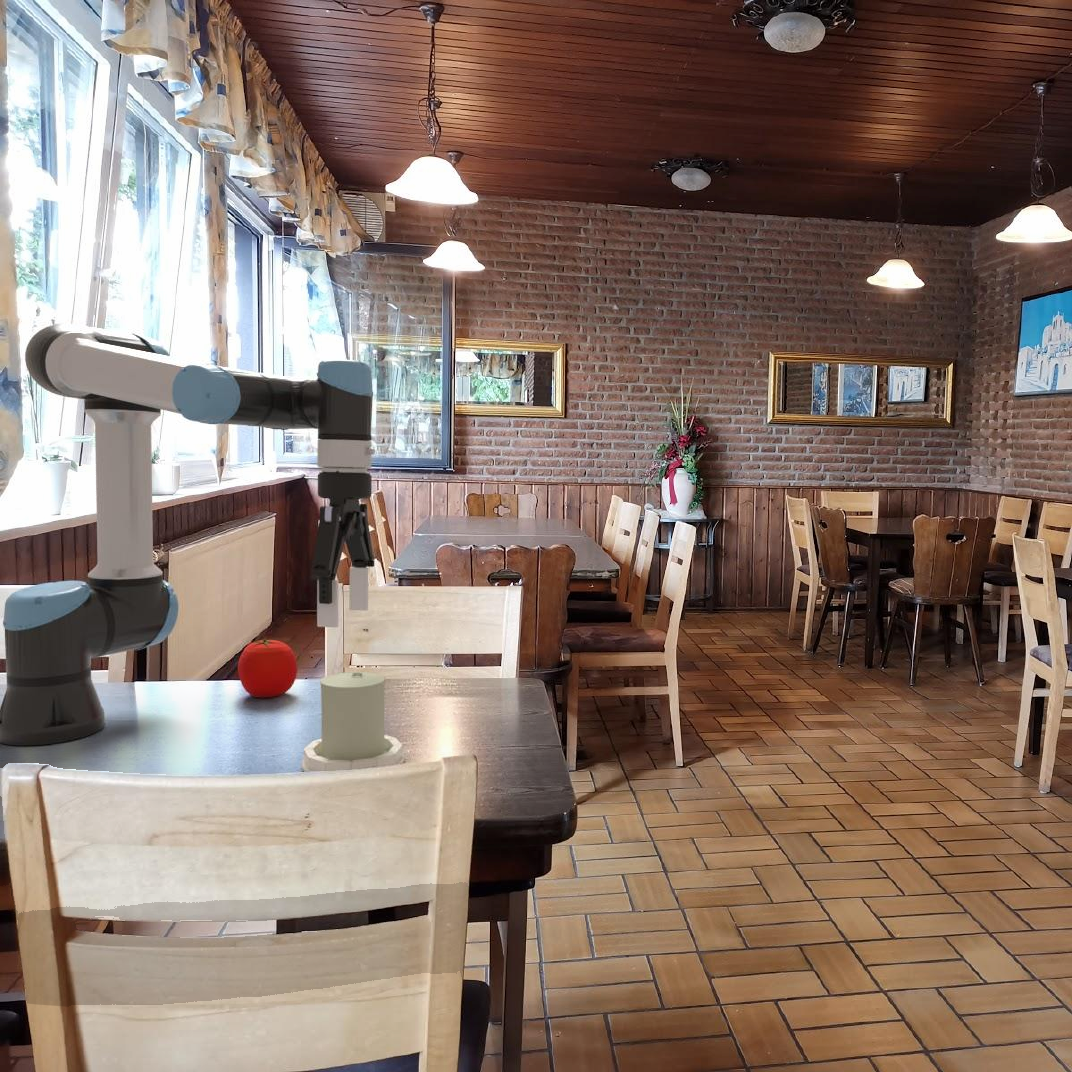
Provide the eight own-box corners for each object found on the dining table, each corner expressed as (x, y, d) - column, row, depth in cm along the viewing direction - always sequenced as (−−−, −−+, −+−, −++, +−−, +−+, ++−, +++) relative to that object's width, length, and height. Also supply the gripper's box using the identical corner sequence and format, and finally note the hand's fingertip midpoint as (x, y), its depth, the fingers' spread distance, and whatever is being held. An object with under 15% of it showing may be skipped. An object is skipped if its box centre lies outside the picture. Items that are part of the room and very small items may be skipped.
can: (389, 747, 125) (389, 668, 124) (380, 769, 116) (380, 684, 115) (328, 747, 125) (327, 668, 124) (313, 769, 116) (313, 684, 115)
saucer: (285, 779, 114) (285, 761, 114) (322, 745, 128) (322, 729, 128) (389, 784, 113) (389, 766, 113) (414, 749, 127) (414, 733, 127)
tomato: (283, 685, 163) (283, 631, 162) (305, 697, 155) (305, 640, 154) (229, 694, 157) (228, 637, 156) (249, 706, 148) (248, 647, 148)
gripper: (341, 471, 106) (340, 636, 108) (394, 471, 131) (392, 604, 133) (284, 470, 107) (284, 633, 109) (347, 470, 132) (347, 603, 134)
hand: (344, 618), depth 121 cm, fingers open, 13 cm apart
